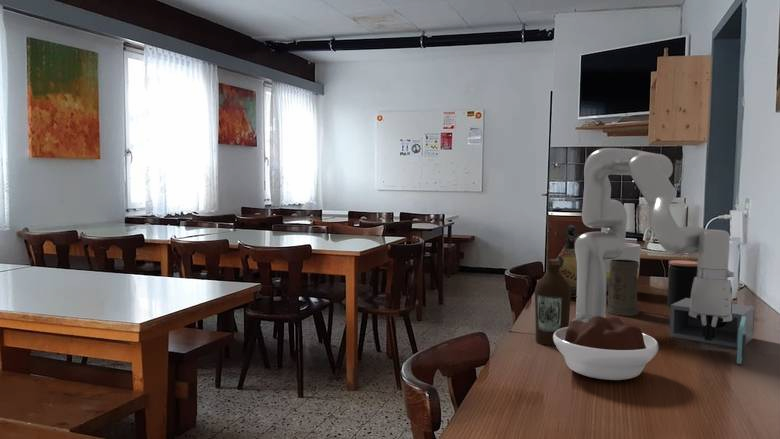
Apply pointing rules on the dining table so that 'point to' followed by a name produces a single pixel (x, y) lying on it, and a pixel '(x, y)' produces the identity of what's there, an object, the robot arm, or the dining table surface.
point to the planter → (625, 257)
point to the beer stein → (623, 288)
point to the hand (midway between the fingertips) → (708, 339)
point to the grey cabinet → (725, 331)
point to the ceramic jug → (569, 260)
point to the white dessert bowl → (605, 348)
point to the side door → (741, 340)
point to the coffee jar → (680, 280)
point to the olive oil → (551, 304)
